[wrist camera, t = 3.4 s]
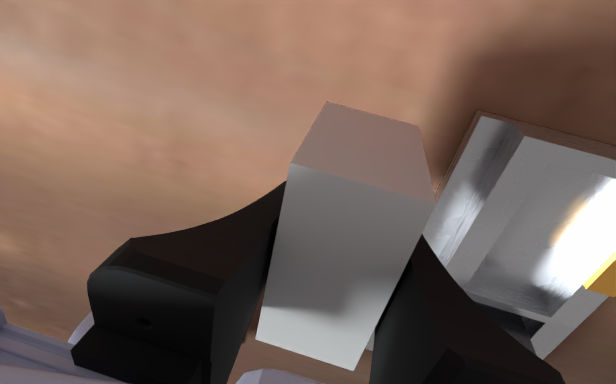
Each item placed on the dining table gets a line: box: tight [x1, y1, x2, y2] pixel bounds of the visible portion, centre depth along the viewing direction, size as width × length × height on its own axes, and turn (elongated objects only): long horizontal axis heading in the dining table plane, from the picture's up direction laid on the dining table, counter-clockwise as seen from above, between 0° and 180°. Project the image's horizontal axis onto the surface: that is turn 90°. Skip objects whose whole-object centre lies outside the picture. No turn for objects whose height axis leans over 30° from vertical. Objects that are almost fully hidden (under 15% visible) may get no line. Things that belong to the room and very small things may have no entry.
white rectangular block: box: [256, 102, 437, 371], centre depth 12 cm, size 4×7×6 cm, turn 168°
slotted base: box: [365, 110, 616, 360], centre depth 19 cm, size 11×19×5 cm, turn 168°
